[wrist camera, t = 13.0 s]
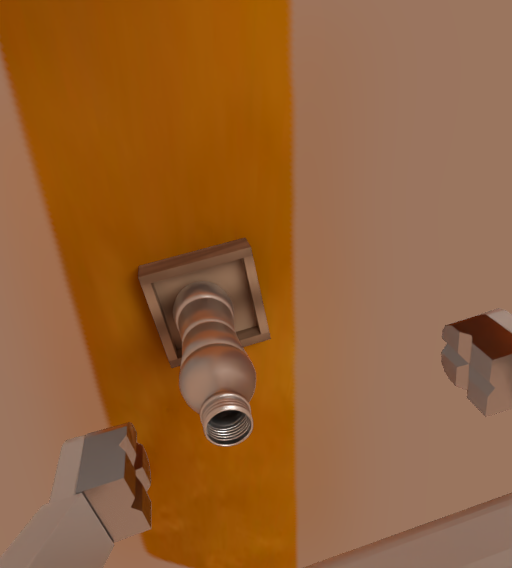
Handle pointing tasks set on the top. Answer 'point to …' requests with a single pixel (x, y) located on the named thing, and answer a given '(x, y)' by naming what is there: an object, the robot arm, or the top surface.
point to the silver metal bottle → (214, 363)
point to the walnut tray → (210, 268)
